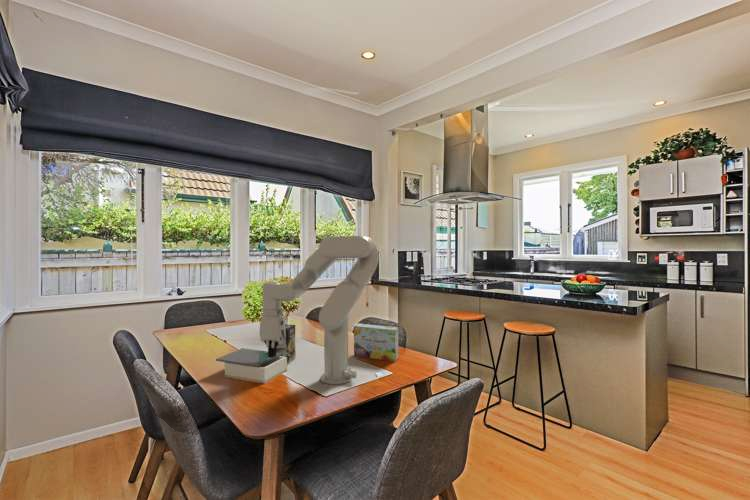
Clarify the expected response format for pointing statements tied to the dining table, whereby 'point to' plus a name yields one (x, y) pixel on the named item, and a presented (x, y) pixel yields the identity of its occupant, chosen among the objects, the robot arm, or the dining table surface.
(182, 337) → the dining table surface
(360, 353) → the snack box
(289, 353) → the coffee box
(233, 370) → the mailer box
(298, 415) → the dining table surface
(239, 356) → the lid
